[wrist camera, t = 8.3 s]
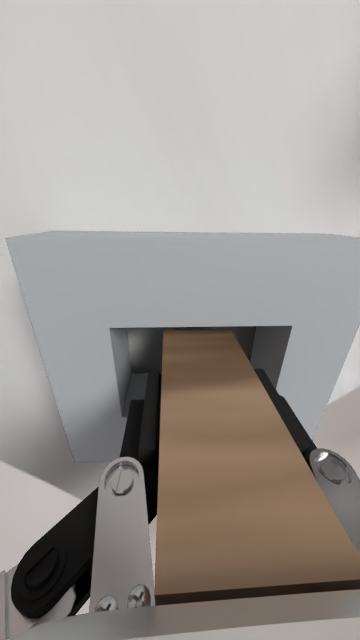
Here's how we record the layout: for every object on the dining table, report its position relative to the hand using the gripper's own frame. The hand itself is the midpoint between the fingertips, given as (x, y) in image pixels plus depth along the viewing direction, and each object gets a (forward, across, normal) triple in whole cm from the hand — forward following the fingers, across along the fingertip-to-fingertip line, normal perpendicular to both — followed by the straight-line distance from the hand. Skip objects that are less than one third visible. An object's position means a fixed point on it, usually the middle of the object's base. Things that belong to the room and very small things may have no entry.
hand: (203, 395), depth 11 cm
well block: (+5, 0, 0) cm, 5 cm away
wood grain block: (+3, 0, 0) cm, 3 cm away
